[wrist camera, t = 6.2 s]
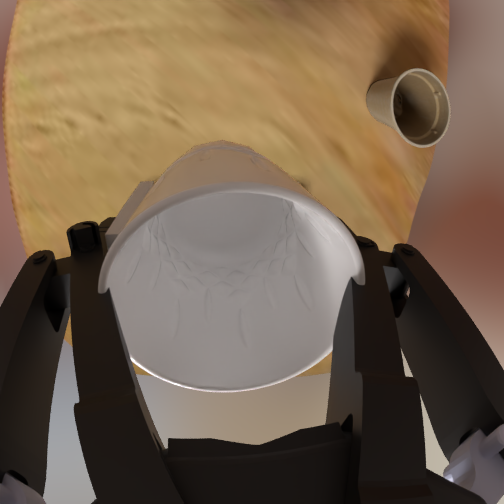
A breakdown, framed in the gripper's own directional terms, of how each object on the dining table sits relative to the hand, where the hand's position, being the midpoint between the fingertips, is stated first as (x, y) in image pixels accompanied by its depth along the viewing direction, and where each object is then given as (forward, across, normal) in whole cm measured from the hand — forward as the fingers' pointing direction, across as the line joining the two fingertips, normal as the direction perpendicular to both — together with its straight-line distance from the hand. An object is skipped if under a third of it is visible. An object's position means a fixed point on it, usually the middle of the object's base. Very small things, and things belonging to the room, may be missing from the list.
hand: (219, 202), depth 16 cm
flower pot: (+20, +22, +8) cm, 31 cm away
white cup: (+1, 0, 0) cm, 1 cm away
